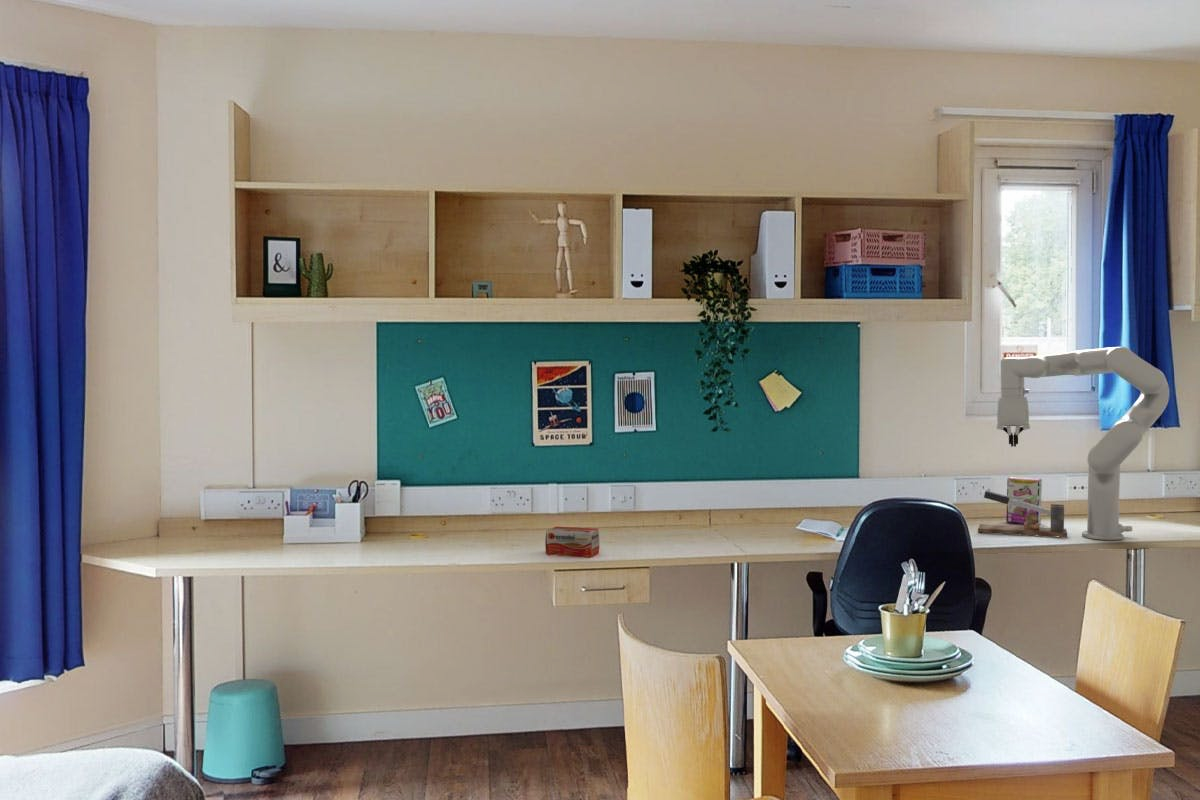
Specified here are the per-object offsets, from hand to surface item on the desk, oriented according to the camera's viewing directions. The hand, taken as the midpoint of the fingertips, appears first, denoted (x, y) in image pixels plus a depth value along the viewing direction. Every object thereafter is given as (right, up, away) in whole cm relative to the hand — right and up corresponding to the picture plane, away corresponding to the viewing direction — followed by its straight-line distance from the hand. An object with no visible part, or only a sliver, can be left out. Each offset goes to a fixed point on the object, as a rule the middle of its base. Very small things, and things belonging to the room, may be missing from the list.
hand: (1013, 446), depth 372 cm
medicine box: (-151, -32, -38) cm, 159 cm away
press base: (+2, -30, -2) cm, 30 cm away
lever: (+2, -21, -3) cm, 21 cm away
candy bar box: (+11, -29, +18) cm, 36 cm away
